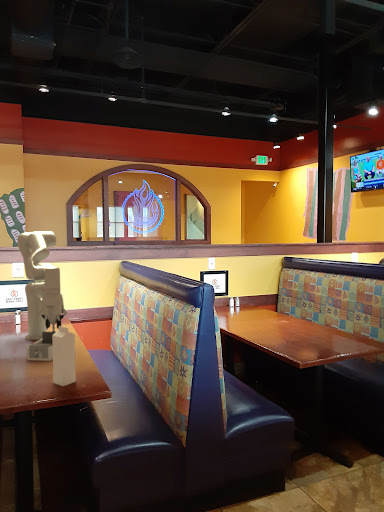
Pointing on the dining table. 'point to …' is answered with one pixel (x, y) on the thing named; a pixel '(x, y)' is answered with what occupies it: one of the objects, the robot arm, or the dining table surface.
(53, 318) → the chalice
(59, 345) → the milk
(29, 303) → the robot arm
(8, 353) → the dining table surface
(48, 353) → the grey bracket
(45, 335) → the pusher
